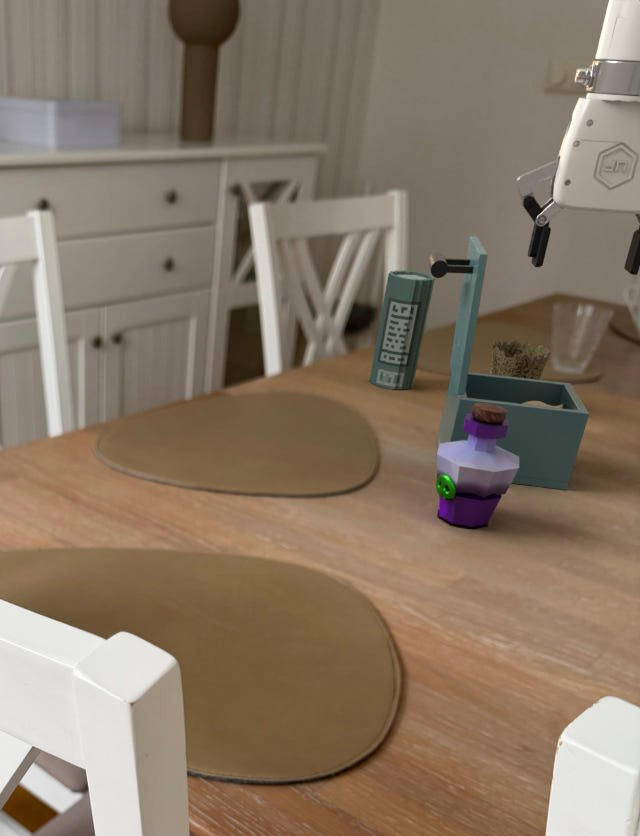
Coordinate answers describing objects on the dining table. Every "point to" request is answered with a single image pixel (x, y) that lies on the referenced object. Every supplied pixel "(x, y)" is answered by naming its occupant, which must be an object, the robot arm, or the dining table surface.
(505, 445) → the box
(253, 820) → the dining table surface
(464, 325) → the freezer lid
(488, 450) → the potion bottle
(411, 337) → the can
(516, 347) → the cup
